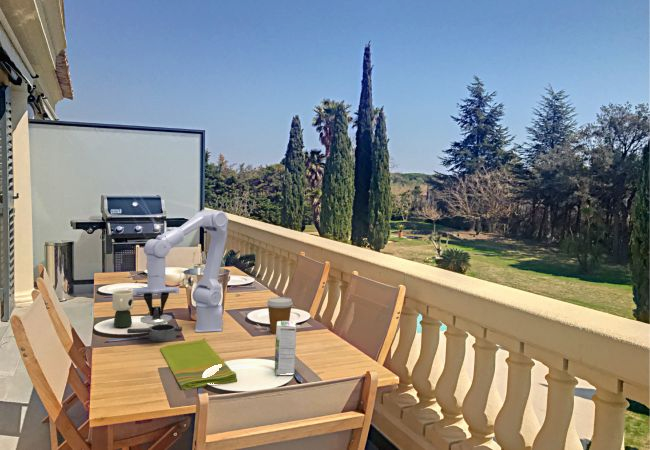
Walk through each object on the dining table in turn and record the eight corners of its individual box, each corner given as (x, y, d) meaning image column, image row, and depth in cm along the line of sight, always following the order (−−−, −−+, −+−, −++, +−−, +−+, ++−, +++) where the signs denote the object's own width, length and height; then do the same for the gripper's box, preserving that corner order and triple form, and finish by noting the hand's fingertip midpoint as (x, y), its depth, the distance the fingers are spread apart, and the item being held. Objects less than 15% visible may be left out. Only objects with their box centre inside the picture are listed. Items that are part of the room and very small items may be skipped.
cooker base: (182, 332, 185) (182, 323, 184) (181, 340, 176) (182, 330, 176) (129, 335, 180) (129, 325, 180) (125, 342, 172) (125, 332, 171)
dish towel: (181, 392, 134) (181, 380, 134) (158, 351, 166) (159, 341, 166) (238, 384, 141) (238, 372, 141) (206, 346, 173) (206, 336, 172)
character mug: (131, 330, 186) (131, 294, 185) (110, 331, 184) (109, 295, 183) (134, 322, 197) (134, 288, 196) (115, 322, 195) (114, 289, 194)
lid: (173, 318, 178) (173, 303, 178) (170, 325, 169) (170, 309, 168) (142, 319, 176) (142, 304, 176) (138, 326, 167) (138, 310, 166)
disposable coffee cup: (296, 330, 192) (297, 298, 191) (284, 336, 184) (284, 303, 183) (274, 326, 196) (275, 295, 195) (261, 332, 188) (261, 300, 187)
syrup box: (274, 368, 152) (275, 320, 151) (294, 368, 152) (296, 320, 151) (274, 376, 146) (275, 325, 145) (295, 376, 147) (296, 326, 145)
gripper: (132, 277, 166) (132, 319, 167) (178, 276, 169) (178, 317, 171) (134, 273, 173) (134, 313, 174) (179, 273, 176) (179, 311, 177)
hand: (156, 315), depth 173 cm, fingers closed on lid, 3 cm apart
